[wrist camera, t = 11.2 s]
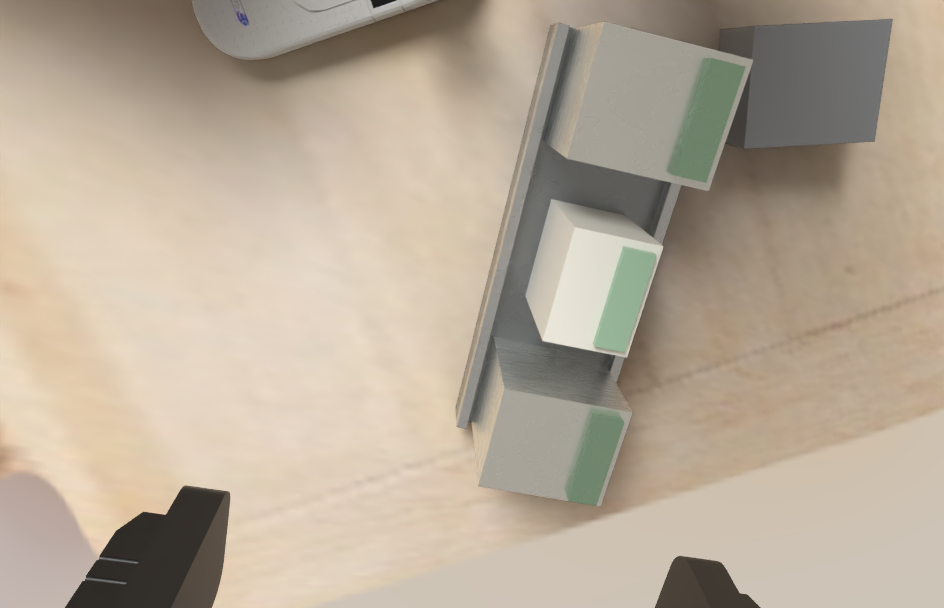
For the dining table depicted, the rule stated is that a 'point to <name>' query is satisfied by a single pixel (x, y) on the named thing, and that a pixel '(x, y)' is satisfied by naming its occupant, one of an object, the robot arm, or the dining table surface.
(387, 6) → the electronic device
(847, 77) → the block
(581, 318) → the block
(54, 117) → the dining table surface
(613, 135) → the rail board
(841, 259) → the dining table surface
